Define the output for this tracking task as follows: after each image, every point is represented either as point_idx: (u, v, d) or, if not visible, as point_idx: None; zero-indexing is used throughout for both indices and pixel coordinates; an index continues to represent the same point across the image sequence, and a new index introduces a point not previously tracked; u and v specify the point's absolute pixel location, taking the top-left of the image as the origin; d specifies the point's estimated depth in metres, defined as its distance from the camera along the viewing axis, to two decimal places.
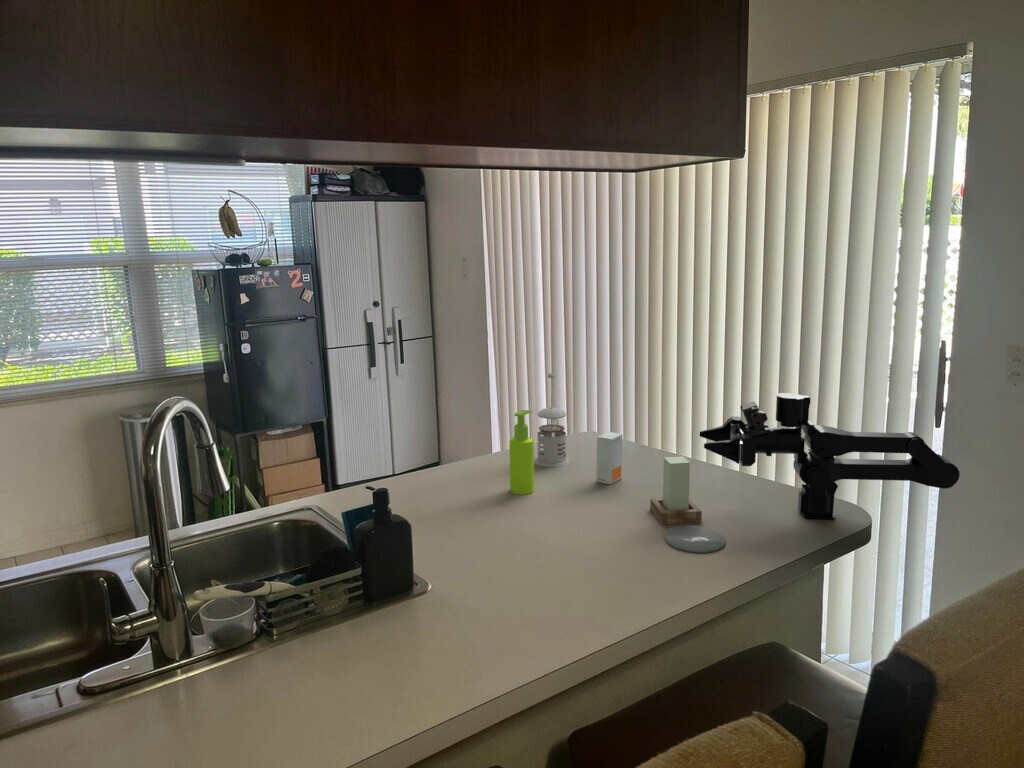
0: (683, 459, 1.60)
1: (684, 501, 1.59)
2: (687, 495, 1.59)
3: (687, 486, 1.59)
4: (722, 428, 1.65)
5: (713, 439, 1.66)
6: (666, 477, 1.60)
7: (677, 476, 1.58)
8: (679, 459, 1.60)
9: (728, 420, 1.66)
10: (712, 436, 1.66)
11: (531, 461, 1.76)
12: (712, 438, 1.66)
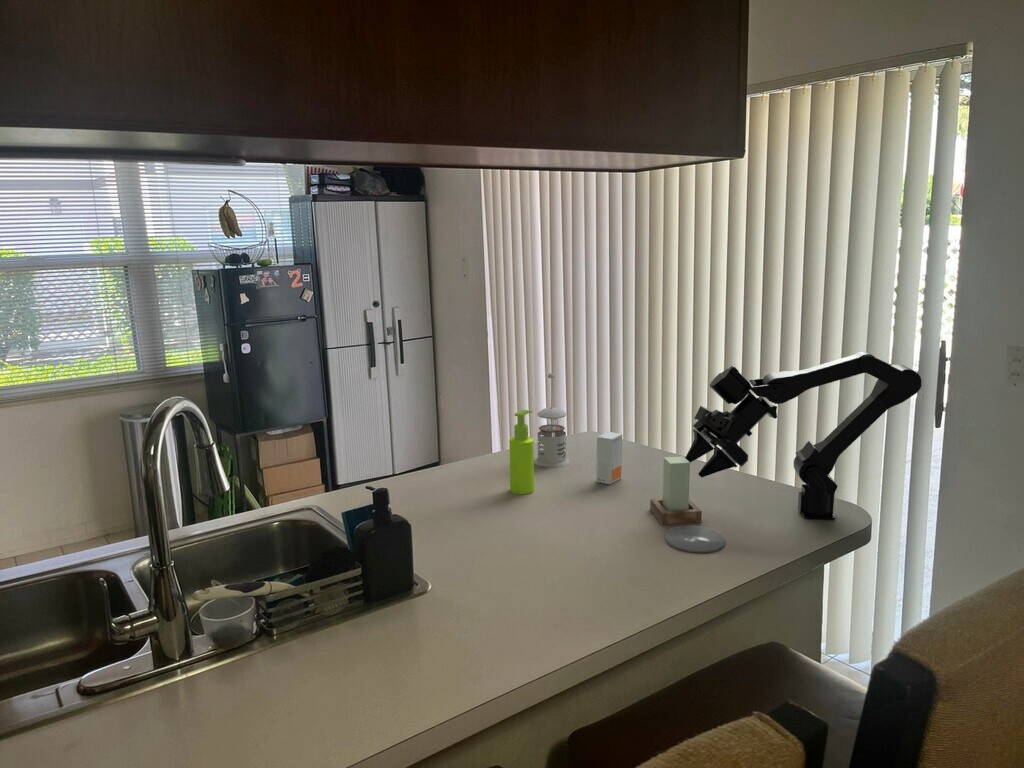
0: (683, 459, 1.60)
1: (684, 501, 1.59)
2: (687, 495, 1.59)
3: (687, 486, 1.59)
4: (696, 442, 1.64)
5: (698, 456, 1.65)
6: (666, 477, 1.60)
7: (677, 476, 1.58)
8: (679, 459, 1.60)
9: (694, 431, 1.65)
10: (695, 455, 1.65)
11: (531, 461, 1.76)
12: (697, 456, 1.65)
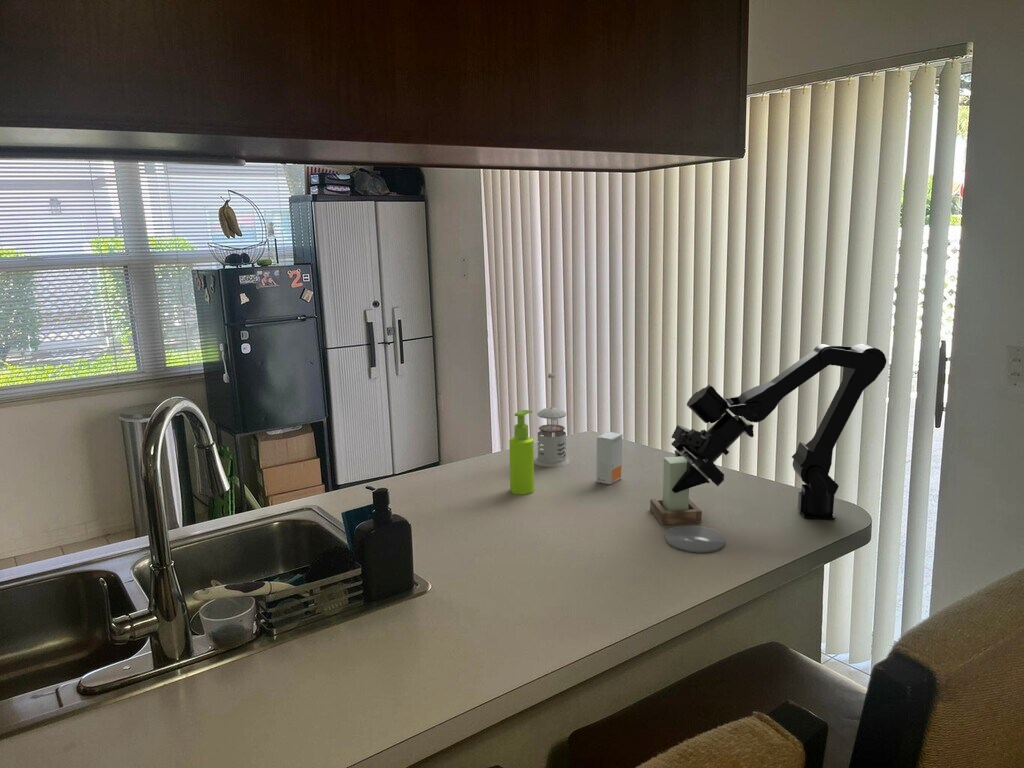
0: (683, 459, 1.60)
1: (684, 501, 1.59)
2: (687, 495, 1.59)
3: None
4: None
5: None
6: (666, 477, 1.60)
7: (677, 476, 1.58)
8: (679, 459, 1.60)
9: (676, 453, 1.63)
10: None
11: (531, 461, 1.76)
12: None
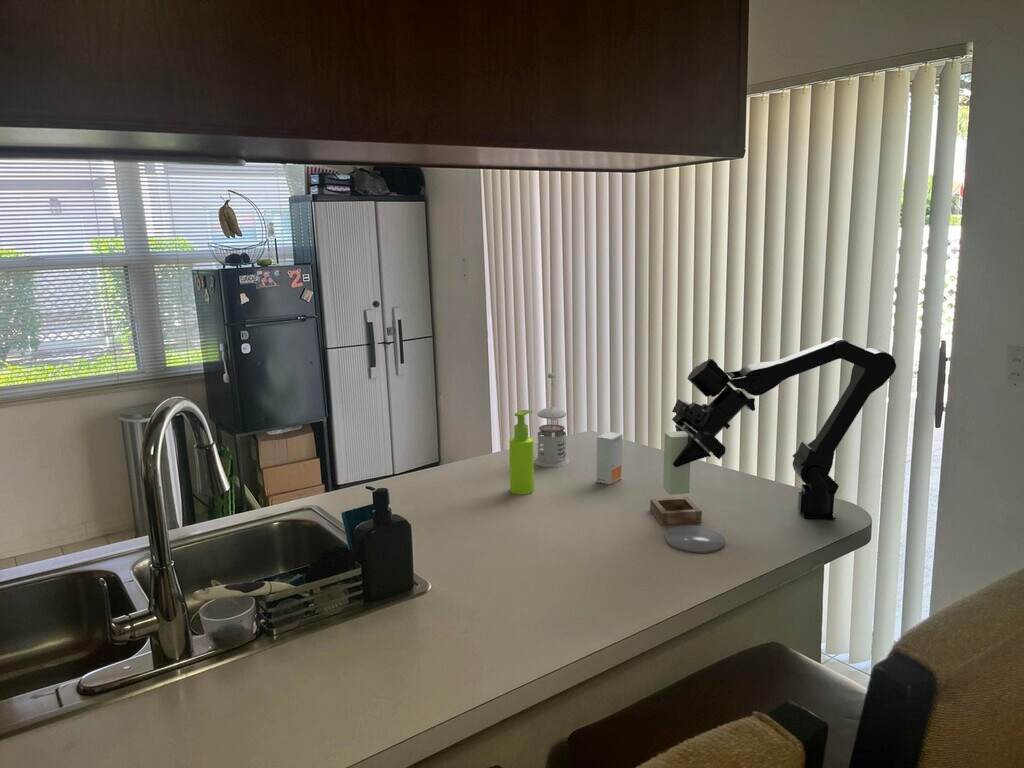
0: (684, 433, 1.58)
1: (685, 476, 1.58)
2: (688, 469, 1.58)
3: None
4: None
5: None
6: (667, 451, 1.59)
7: (678, 450, 1.57)
8: (680, 433, 1.59)
9: (676, 427, 1.62)
10: None
11: (531, 461, 1.76)
12: None
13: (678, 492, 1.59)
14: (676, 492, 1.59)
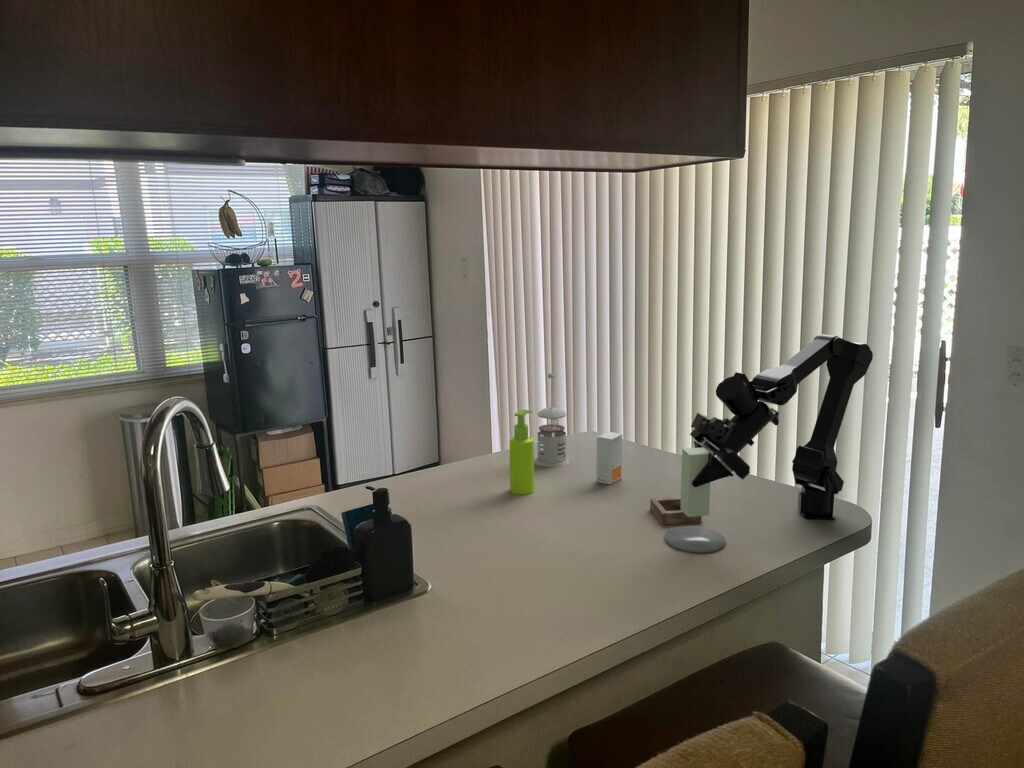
0: (703, 450, 1.46)
1: (704, 496, 1.45)
2: (708, 490, 1.45)
3: None
4: None
5: None
6: (685, 470, 1.46)
7: (697, 468, 1.44)
8: (699, 450, 1.46)
9: (695, 443, 1.50)
10: None
11: (531, 461, 1.76)
12: None
13: (697, 514, 1.46)
14: (695, 514, 1.46)
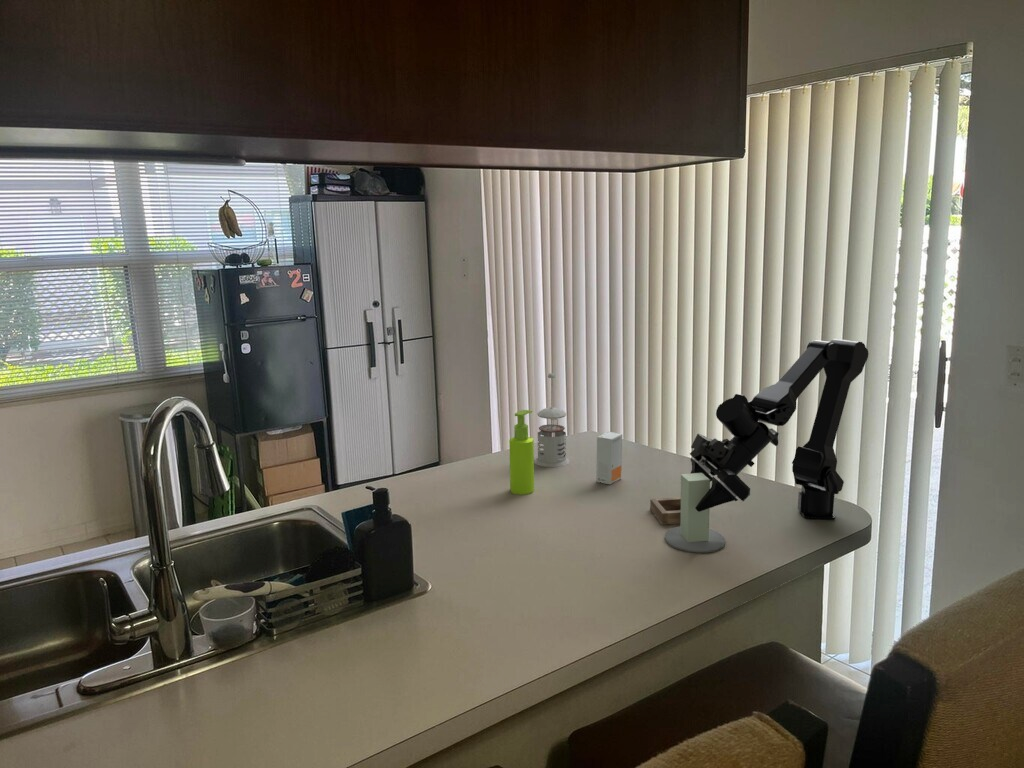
0: (702, 476, 1.47)
1: (704, 522, 1.46)
2: (707, 515, 1.46)
3: None
4: None
5: None
6: (684, 496, 1.47)
7: (696, 494, 1.45)
8: (698, 476, 1.47)
9: (692, 461, 1.52)
10: None
11: (531, 461, 1.76)
12: None
13: (697, 539, 1.47)
14: (695, 540, 1.47)
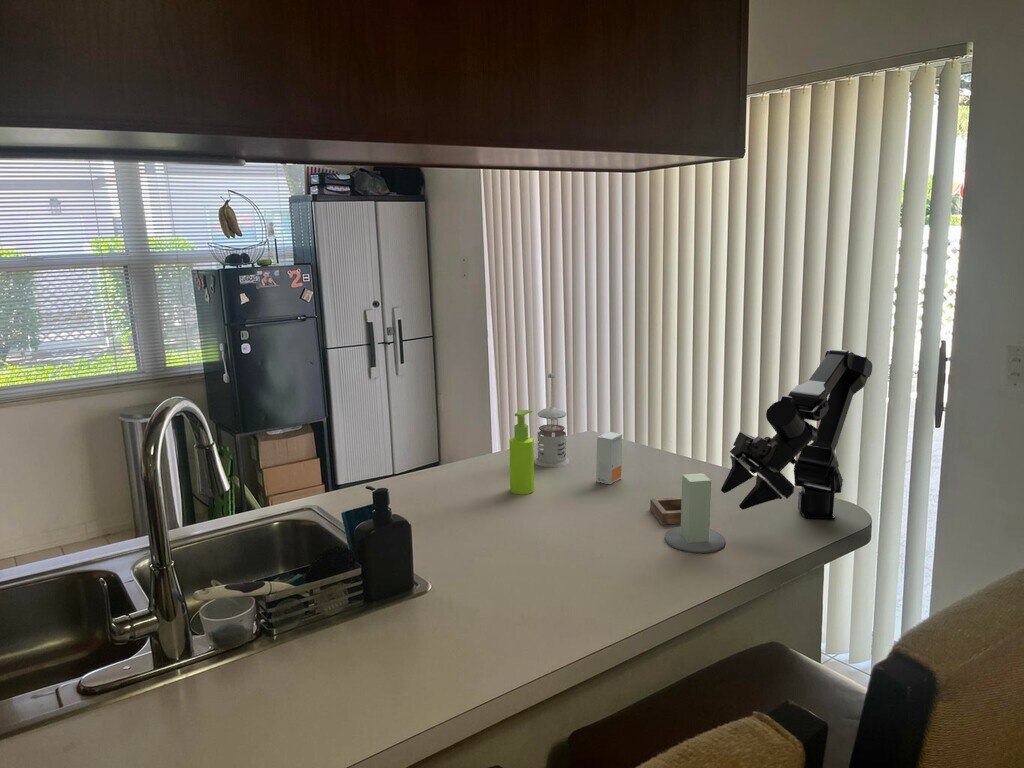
0: (703, 476, 1.46)
1: (704, 522, 1.46)
2: (708, 516, 1.46)
3: (708, 506, 1.45)
4: (735, 470, 1.52)
5: (736, 485, 1.53)
6: (685, 496, 1.47)
7: (697, 495, 1.45)
8: (699, 476, 1.47)
9: (732, 458, 1.53)
10: (733, 483, 1.53)
11: (531, 461, 1.76)
12: (735, 485, 1.53)
13: (697, 540, 1.47)
14: (695, 540, 1.47)
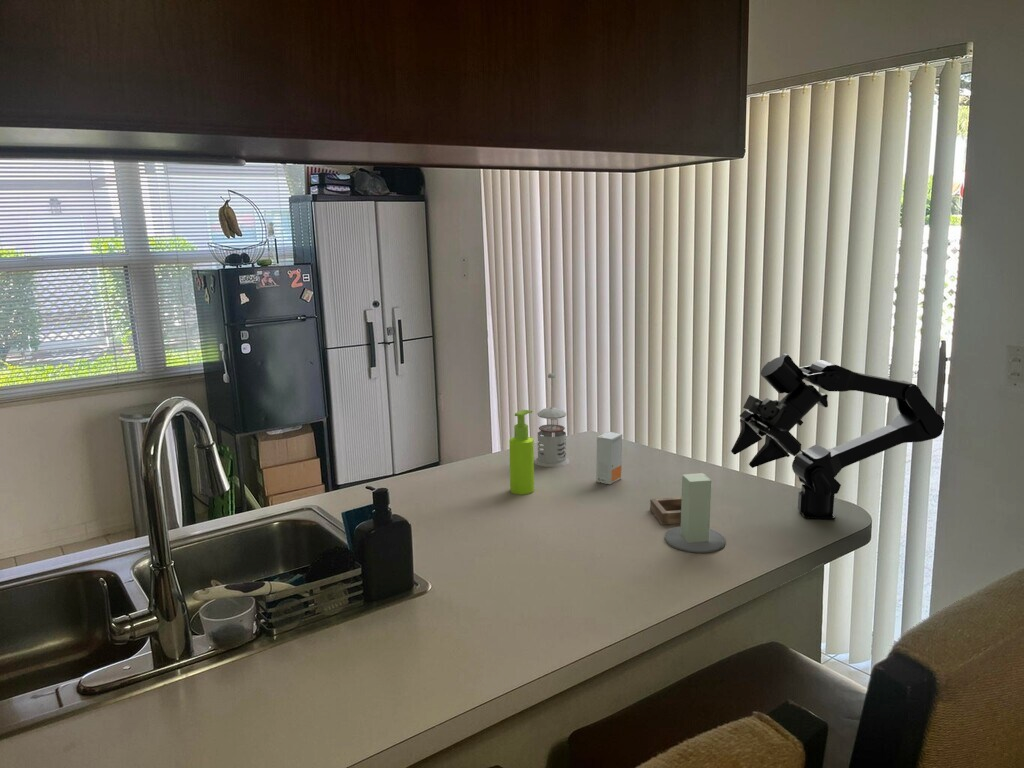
0: (703, 476, 1.46)
1: (704, 522, 1.46)
2: (708, 516, 1.46)
3: (708, 506, 1.45)
4: (744, 432, 1.61)
5: (746, 446, 1.61)
6: (685, 496, 1.47)
7: (697, 495, 1.45)
8: (699, 476, 1.47)
9: (742, 421, 1.62)
10: (743, 445, 1.61)
11: (531, 461, 1.76)
12: (744, 446, 1.61)
13: (697, 540, 1.47)
14: (695, 540, 1.47)
